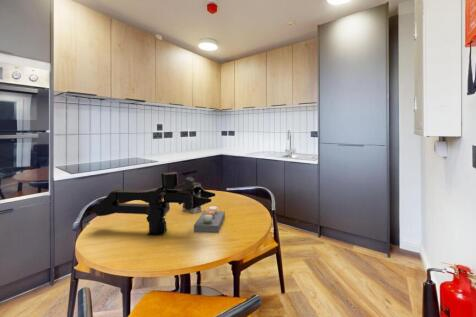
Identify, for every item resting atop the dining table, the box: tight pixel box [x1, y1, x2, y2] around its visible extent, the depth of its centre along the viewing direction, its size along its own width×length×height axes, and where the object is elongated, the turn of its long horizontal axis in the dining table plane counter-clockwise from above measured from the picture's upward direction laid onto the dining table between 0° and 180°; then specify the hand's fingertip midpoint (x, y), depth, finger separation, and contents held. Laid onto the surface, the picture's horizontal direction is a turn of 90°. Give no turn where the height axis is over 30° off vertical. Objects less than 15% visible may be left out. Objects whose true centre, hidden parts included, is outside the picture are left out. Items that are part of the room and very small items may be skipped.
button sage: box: [203, 215, 212, 222], centre depth 115 cm, size 4×4×2 cm
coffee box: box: [181, 181, 202, 214], centre depth 141 cm, size 9×6×16 cm
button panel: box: [193, 210, 226, 234], centre depth 121 cm, size 11×20×3 cm, turn 175°
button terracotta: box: [205, 209, 215, 216], centre depth 121 cm, size 4×4×2 cm
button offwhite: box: [208, 205, 218, 212], centre depth 127 cm, size 4×4×2 cm
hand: (213, 197), depth 108 cm, fingers open, 9 cm apart
